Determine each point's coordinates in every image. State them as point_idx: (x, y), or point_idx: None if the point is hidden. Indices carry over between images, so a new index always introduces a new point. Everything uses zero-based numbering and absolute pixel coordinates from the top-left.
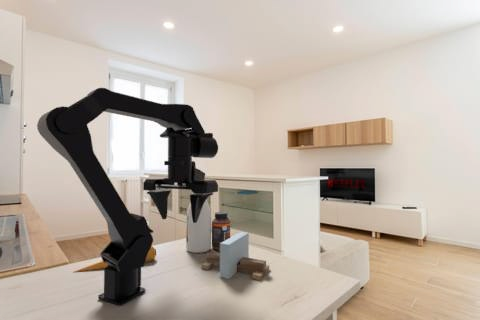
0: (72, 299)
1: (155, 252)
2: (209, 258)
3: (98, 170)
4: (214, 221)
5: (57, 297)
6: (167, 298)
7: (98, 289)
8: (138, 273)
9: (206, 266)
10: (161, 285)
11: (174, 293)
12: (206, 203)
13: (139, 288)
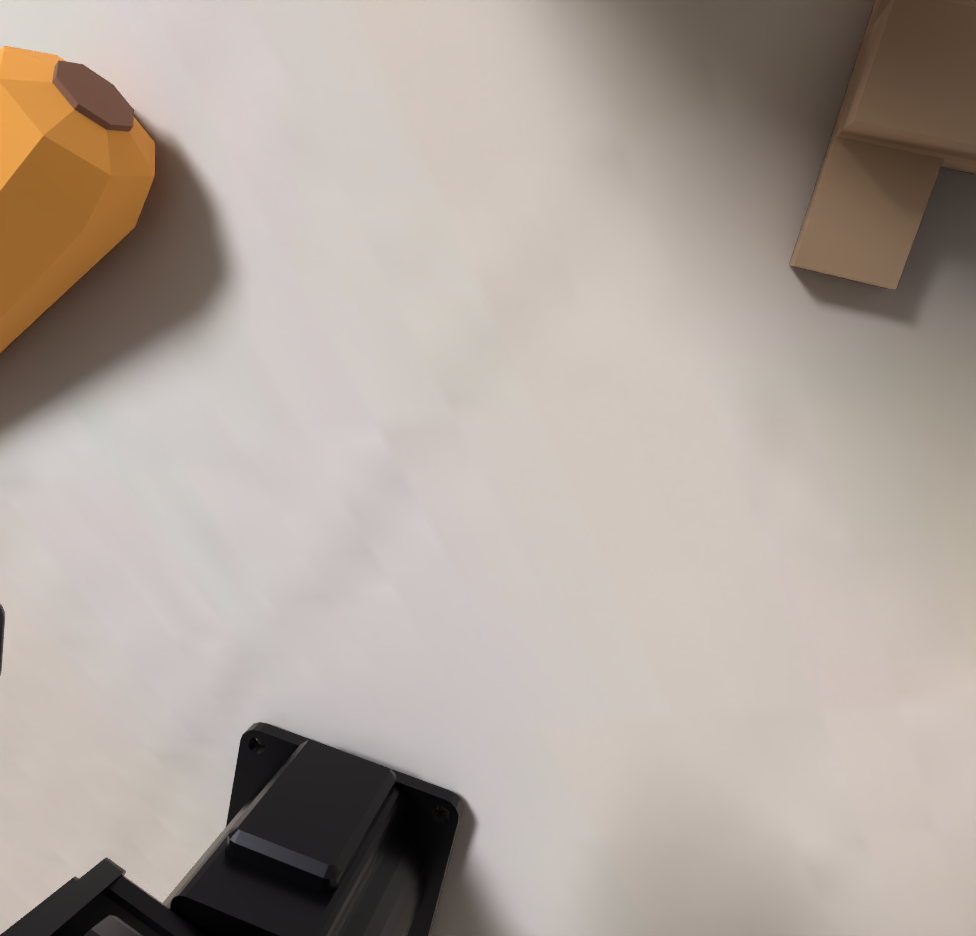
0: None
1: (113, 133)
2: (890, 137)
3: None
4: None
5: (5, 876)
6: (676, 877)
7: (136, 777)
8: (357, 888)
9: (867, 283)
10: (531, 691)
11: (699, 808)
12: None
13: (411, 808)
